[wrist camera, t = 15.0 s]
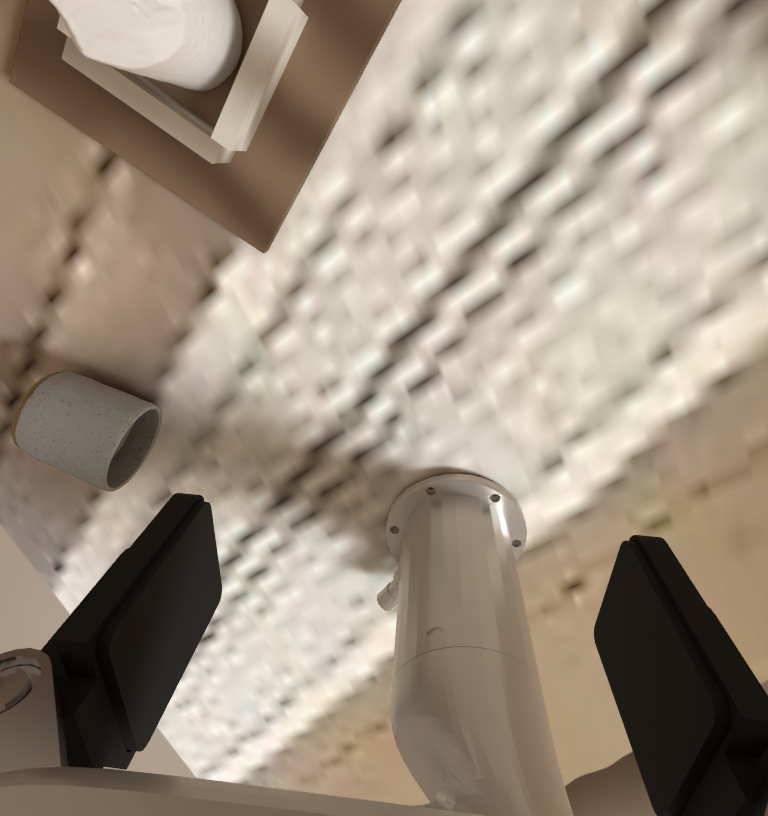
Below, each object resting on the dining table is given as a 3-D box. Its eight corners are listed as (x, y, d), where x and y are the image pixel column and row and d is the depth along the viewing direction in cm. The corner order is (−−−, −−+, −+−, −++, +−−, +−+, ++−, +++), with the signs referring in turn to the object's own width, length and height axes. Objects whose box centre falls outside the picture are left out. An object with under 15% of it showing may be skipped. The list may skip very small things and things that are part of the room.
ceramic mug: (72, 351, 40) (-2, 394, 33) (169, 389, 41) (115, 438, 34) (63, 449, 45) (-3, 503, 38) (149, 481, 46) (100, 539, 39)
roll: (88, 92, 19) (-49, -25, 18) (209, 113, 30) (129, 41, 29) (158, -63, 17) (6, -212, 16) (263, 19, 27) (178, -65, 26)
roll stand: (267, 250, 34) (249, 262, 31) (21, 84, 31) (-32, 75, 27) (415, -27, 27) (413, -54, 23) (109, -291, 23) (52, -372, 20)
